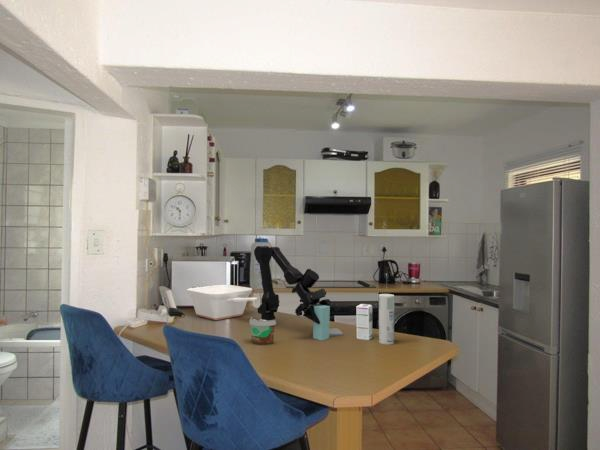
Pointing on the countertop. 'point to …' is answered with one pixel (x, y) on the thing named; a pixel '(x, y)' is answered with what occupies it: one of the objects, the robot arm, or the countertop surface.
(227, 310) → the pot
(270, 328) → the food container
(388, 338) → the spray can
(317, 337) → the block
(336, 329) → the coaster
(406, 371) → the countertop surface
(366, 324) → the syrup box
